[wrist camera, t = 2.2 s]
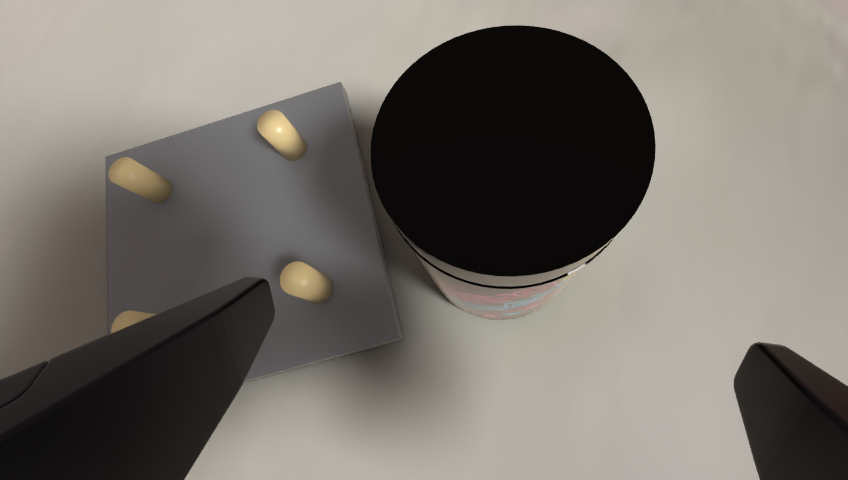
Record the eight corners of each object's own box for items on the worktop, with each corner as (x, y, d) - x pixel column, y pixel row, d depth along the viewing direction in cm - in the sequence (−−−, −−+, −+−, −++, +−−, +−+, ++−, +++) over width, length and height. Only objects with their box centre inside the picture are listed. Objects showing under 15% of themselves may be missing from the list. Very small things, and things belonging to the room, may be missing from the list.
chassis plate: (403, 339, 19) (386, 334, 16) (127, 415, 20) (56, 425, 17) (346, 93, 24) (323, 49, 20) (120, 165, 25) (63, 134, 21)
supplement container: (398, 245, 21) (317, 138, 11) (501, 159, 21) (512, -19, 11) (492, 354, 19) (496, 343, 9) (602, 255, 19) (725, 141, 9)
